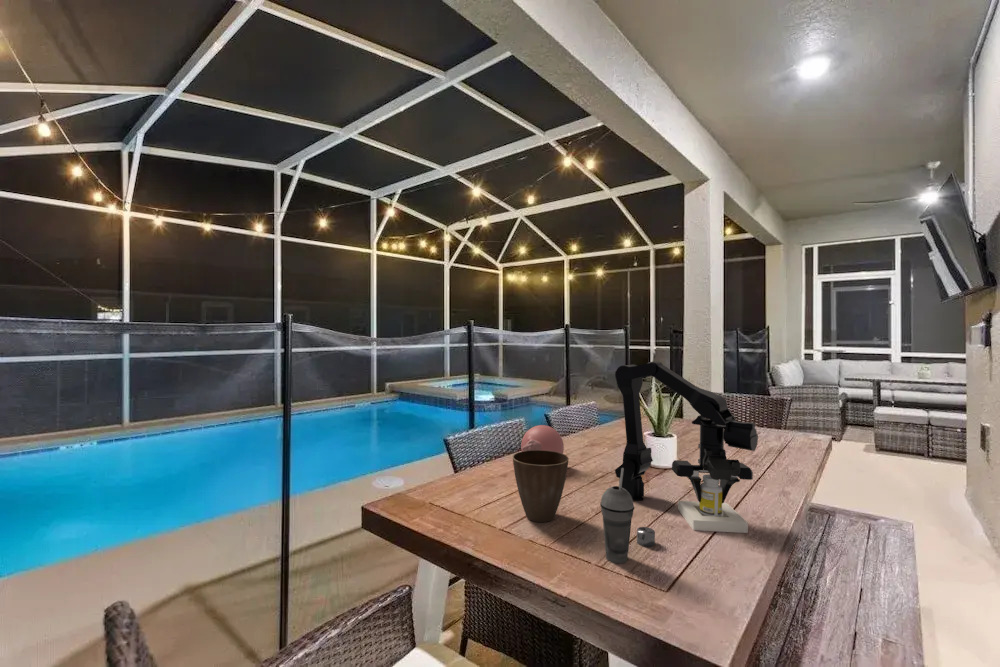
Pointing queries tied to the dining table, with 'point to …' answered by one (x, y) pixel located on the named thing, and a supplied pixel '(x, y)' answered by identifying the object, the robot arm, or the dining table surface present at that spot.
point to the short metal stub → (646, 537)
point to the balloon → (542, 439)
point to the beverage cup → (617, 521)
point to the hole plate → (712, 518)
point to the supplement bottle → (710, 497)
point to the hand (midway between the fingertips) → (710, 502)
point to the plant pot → (540, 482)
